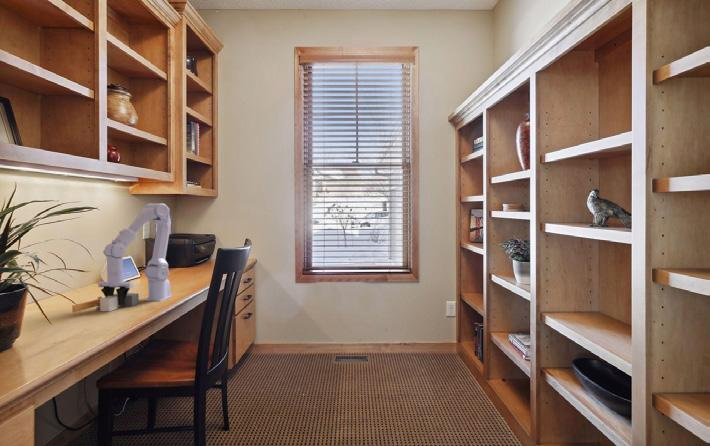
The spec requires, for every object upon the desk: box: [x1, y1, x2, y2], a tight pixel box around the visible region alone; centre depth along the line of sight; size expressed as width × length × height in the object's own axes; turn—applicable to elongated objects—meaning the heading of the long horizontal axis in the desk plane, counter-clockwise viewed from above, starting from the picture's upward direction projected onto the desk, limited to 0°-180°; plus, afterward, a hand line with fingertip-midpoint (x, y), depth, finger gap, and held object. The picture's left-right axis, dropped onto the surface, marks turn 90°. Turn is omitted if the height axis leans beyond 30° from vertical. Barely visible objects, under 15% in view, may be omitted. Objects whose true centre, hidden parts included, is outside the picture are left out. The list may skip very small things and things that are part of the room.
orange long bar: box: [71, 296, 103, 313], centre depth 158 cm, size 12×1×4 cm, turn 165°
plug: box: [99, 296, 120, 312], centre depth 162 cm, size 7×4×5 cm, turn 172°
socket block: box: [95, 292, 140, 311], centre depth 167 cm, size 11×11×5 cm
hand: (116, 304), depth 165 cm, fingers closed on plug, 4 cm apart
